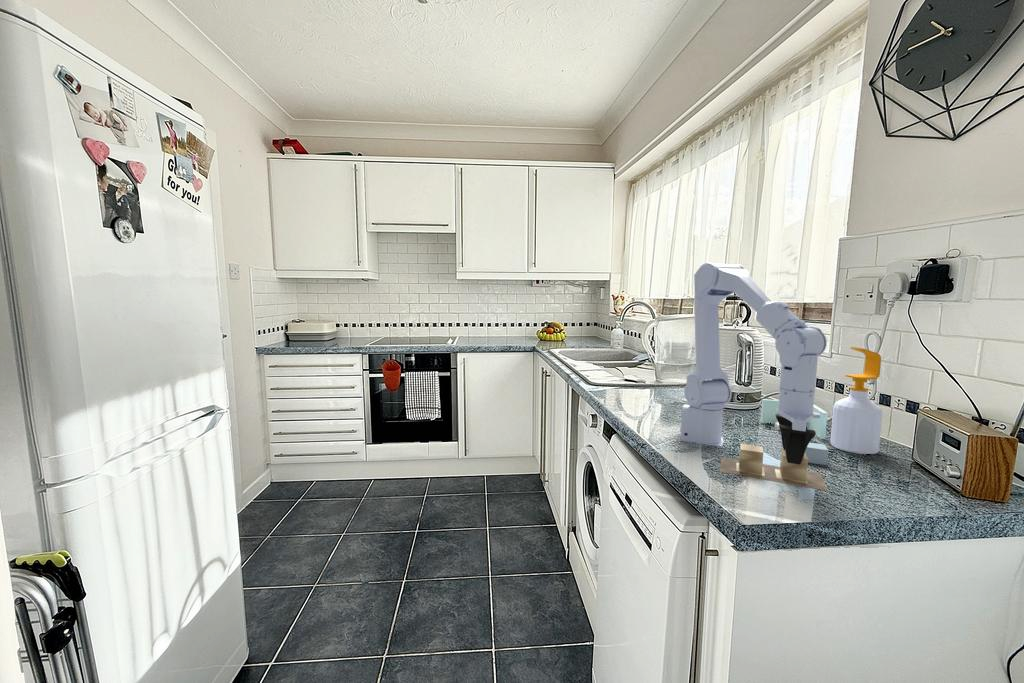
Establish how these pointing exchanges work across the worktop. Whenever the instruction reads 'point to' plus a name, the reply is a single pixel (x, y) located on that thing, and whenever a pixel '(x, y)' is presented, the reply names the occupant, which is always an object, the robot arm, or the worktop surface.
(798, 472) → the tan wooden cube
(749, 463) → the pillar
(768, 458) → the worktop surface
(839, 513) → the worktop surface
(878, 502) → the worktop surface
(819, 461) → the slate grey cube
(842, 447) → the soap bottle
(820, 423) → the right angle wall
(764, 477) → the board
